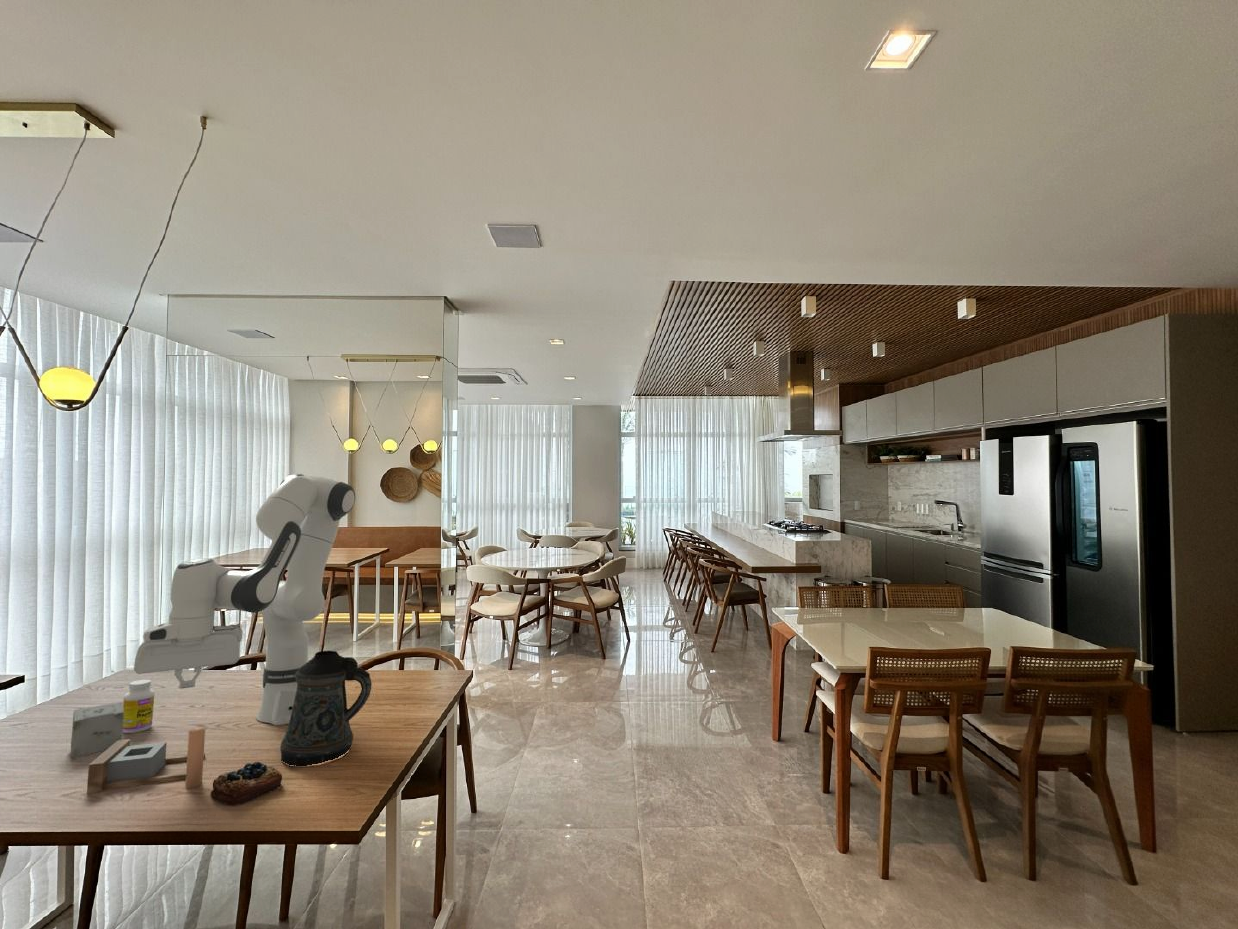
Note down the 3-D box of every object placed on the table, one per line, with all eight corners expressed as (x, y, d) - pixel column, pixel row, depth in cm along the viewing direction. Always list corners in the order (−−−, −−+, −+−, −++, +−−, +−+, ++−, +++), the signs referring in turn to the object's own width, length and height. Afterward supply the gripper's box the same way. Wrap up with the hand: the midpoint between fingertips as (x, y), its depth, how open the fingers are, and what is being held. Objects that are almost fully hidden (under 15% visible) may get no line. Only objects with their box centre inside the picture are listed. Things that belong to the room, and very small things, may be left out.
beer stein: (273, 751, 149) (278, 651, 151) (354, 733, 161) (358, 640, 163) (287, 774, 136) (292, 665, 138) (373, 753, 149) (377, 652, 151)
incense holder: (69, 761, 142) (72, 717, 143) (70, 750, 148) (73, 708, 149) (122, 750, 149) (125, 708, 150) (120, 740, 155) (123, 699, 156)
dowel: (203, 781, 133) (207, 726, 134) (199, 787, 130) (202, 731, 131) (188, 783, 132) (191, 728, 133) (183, 789, 129) (186, 733, 130)
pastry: (202, 798, 126) (204, 770, 126) (259, 776, 136) (260, 750, 137) (233, 811, 121) (234, 781, 121) (288, 786, 131) (290, 759, 132)
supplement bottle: (134, 735, 158) (137, 686, 159) (114, 733, 160) (118, 684, 160) (158, 726, 165) (161, 679, 166) (139, 724, 166) (142, 677, 167)
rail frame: (206, 755, 146) (207, 731, 146) (187, 780, 133) (189, 753, 133) (115, 766, 140) (117, 740, 140) (86, 793, 127) (88, 764, 127)
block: (165, 763, 141) (166, 742, 141) (150, 780, 133) (152, 757, 133) (124, 768, 138) (125, 746, 138) (106, 785, 130) (108, 762, 130)
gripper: (243, 621, 148) (240, 678, 147) (140, 629, 137) (135, 690, 136) (242, 626, 142) (239, 684, 141) (134, 634, 132) (130, 697, 131)
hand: (187, 687), depth 139 cm, fingers closed
